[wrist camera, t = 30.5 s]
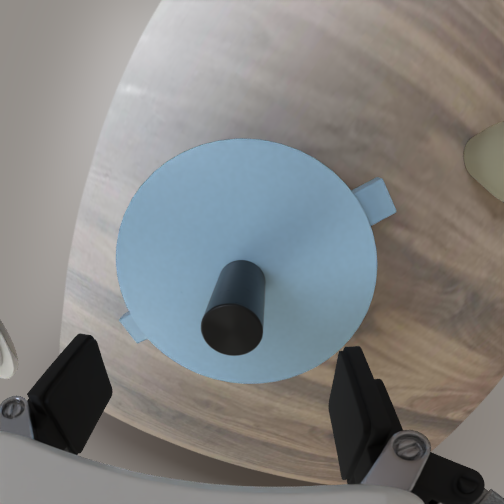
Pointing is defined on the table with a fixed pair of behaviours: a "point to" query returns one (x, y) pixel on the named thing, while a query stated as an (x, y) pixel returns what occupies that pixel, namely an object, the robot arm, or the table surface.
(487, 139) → the mug
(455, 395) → the table surface
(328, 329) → the lid
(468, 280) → the table surface
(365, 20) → the table surface
